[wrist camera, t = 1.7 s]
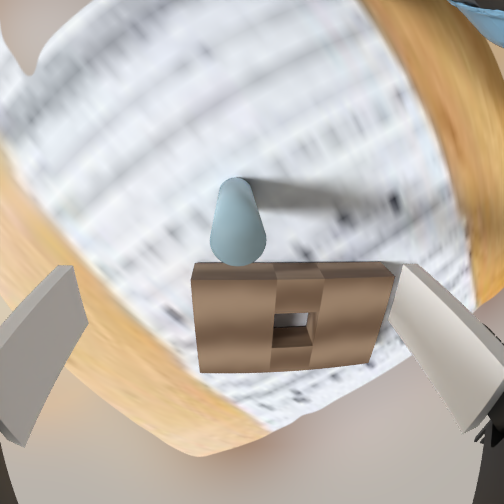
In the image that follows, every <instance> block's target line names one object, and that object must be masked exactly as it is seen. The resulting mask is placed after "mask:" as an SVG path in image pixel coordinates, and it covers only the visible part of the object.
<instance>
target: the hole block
mask: <svg viewBox="0 0 504 504" xmlns="http://www.w3.org/2000/svg"><path fill="white" fill-rule="evenodd" d="M394 278H395V276H394V275H393V274H392V273H391V272H390V271H389V270H388V269H387V268H386V267H385V266H384V265H383V264H382V263H381V262H335V263H251V264H248V265H245V266H231V265H227V264H225V263H195V265H194V269H193V273H192V277H191V290H192V302H193V313H194V323H195V333H196V342H197V351H198V360H199V368H200V373H263V372H284V371H299V370H311V369H322V368H332V367H341V366H349V365H357V364H364V363H368V362H369V359H370V357H371V354H372V351H373V348H374V345H375V342H376V339H377V336H378V333H379V330H380V327H381V324H382V321H383V318H384V314H385V311H386V307H387V304H388V300H389V297H390V293H391V290H392V286H393V282H394ZM284 313H308V319H307V325H306V327H288V328H273V326H274V315H275V314H284Z"/></svg>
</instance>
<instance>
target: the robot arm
mask: <svg viewBox="0 0 504 504" xmlns="http://www.w3.org/2000/svg"><path fill="white" fill-rule="evenodd" d="M447 1H448V2H449V3H450V4H452V5H453V6H455V7H457V8H458V9H459V10H460V11H461V12H462V13H463V14H464V15H465V16H466V18H467V19H468V20H469V21H470V22H471V23H472V24H473V25H474V26H475V28H476V29H477V30H478V31H479V32H480V33H481V34H482V35H483V36H484V37H485V38H486V39H488V40H489V41H491V42H492V43H494V44H496V45H498V46H500V47H502V48H504V0H447ZM388 321H389V322H390V324H391V325H392V326H393V328H394V329H395V331H396V332H397V333H398V335H399V336H400V338H401V339H402V341H403V342H404V343H405V345H406V346H407V348H408V349H409V351H410V352H411V353H412V355H413V356H414V358H415V359H416V361H417V362H418V364H419V365H420V367H421V368H422V370H423V371H424V373H425V374H426V376H427V377H428V379H429V380H430V382H431V383H432V385H433V387H434V388H435V390H436V391H437V393H438V394H439V396H440V398H441V399H442V401H443V402H444V404H445V405H446V407H447V409H448V410H449V412H450V413H451V415H452V417H453V419H454V420H455V422H456V424H457V425H458V427H459V429H460V431H461V432H462V434H463V433H466V432H468V431H470V430H472V429H474V428H476V427H477V426H478V425H479V424H480V423H481V422H482V420H483V419H484V418H485V417H486V415H488V416H489V418H490V421H489V422H488V423H487V424H486V426H485V427H484V428H483V429H482V430H481V431H480V433H479V434H478V435H477V436H476V438H475V440H474V442H477V441H478V440H479V439H480V438H481V437H482V435H483V434H485V437H484V438H483V439H482V440H481V441H480V443H482V444H484V447H483V454H482V461H481V467H480V472H479V477H478V482H477V487H476V491H475V495H474V499H473V503H472V504H504V344H503V343H501V340H500V339H499V338H498V337H497V336H496V337H495V334H494V333H493V332H492V331H491V330H490V329H489V328H488V327H487V326H486V325H484V324H483V323H481V322H480V321H479V320H478V319H477V318H476V317H475V316H474V315H473V314H472V313H471V312H470V311H469V310H468V309H467V308H466V307H465V306H464V305H463V304H462V303H461V302H460V301H458V300H457V299H456V298H455V297H454V296H453V295H452V294H451V293H450V292H449V291H448V290H447V289H445V288H444V287H443V286H442V285H441V284H440V283H439V282H438V281H437V280H435V279H434V278H433V277H432V276H431V275H430V274H429V273H427V272H426V271H425V270H424V269H423V268H422V267H420V266H419V265H418V264H403V267H402V271H401V275H400V279H399V283H398V286H397V290H396V294H395V297H394V301H393V304H392V308H391V311H390V314H389V318H388ZM87 325H88V320H87V317H86V313H85V310H84V307H83V303H82V300H81V296H80V292H79V288H78V284H77V280H76V276H75V272H74V268H73V266H68V265H58V266H57V267H56V268H55V269H54V270H53V271H52V272H51V273H50V274H49V275H48V276H47V277H46V278H45V279H44V280H43V281H42V282H41V283H40V284H39V285H38V286H37V287H36V288H35V289H34V290H33V291H32V292H31V293H30V294H29V295H28V296H27V297H26V298H25V299H24V300H23V301H22V302H21V303H20V304H19V305H18V307H17V308H16V309H15V310H14V311H13V312H12V313H11V314H10V315H9V317H8V318H7V319H6V320H5V321H4V322H3V323H2V325H1V326H0V432H1V433H2V434H3V435H4V436H5V437H6V439H7V440H9V441H11V442H13V443H15V444H17V445H20V446H22V447H25V445H26V443H27V441H28V438H29V436H30V434H31V431H32V429H33V427H34V425H35V423H36V420H37V418H38V416H39V414H40V412H41V410H42V408H43V406H44V403H45V401H46V399H47V397H48V395H49V393H50V391H51V389H52V387H53V386H54V383H55V381H56V380H57V378H58V376H59V374H60V372H61V370H62V368H63V367H64V365H65V363H66V361H67V359H68V358H69V356H70V354H71V352H72V351H73V349H74V347H75V345H76V344H77V342H78V340H79V338H80V337H81V335H82V333H83V332H84V330H85V328H86V327H87ZM0 504H18V502H17V499H16V496H15V493H14V491H13V487H12V484H11V481H10V478H9V475H8V471H7V468H6V464H5V460H4V456H3V452H2V449H1V443H0Z"/></svg>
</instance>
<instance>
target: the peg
mask: <svg viewBox="0 0 504 504" xmlns="http://www.w3.org/2000/svg"><path fill="white" fill-rule="evenodd" d="M210 245H211V249H212V251H213V253H214V255H215V256H216V257H217V258H218V259H219V260H220V261H222V262H223V263H225V264H227V265H231V266H245V265H248V264H251V263H253V262H254V261H256V260H257V259H258V258H259V257H260V256H261V255H262V253H263V251H264V249H265V246H266V234H265V230H264V227H263V224H262V221H261V218H260V215H259V211H258V208H257V205H256V202H255V199H254V196H253V193H252V190H251V187H250V185H249V184H248V183H247V182H246V181H245V180H243V179H241V178H230V179H228V180H226V181H225V182H224V183H223V184H222V185H221V187H220V190H219V195H218V200H217V205H216V210H215V215H214V220H213V225H212V230H211V235H210Z"/></svg>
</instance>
